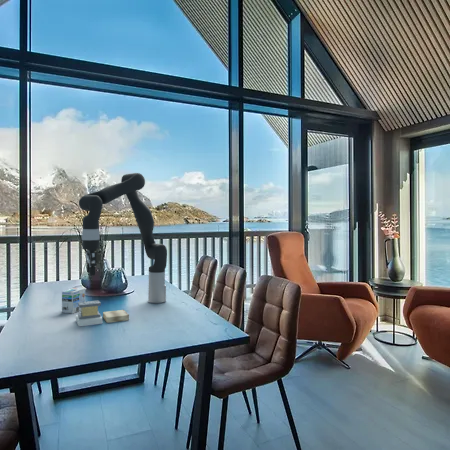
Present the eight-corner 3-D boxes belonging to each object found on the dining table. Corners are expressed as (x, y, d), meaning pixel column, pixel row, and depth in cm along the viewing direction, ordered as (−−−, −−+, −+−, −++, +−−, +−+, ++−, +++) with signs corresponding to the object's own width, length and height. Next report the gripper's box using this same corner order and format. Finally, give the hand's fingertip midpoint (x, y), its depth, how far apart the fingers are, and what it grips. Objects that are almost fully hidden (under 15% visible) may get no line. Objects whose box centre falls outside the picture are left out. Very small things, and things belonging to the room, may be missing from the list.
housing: (98, 313, 167) (98, 300, 167) (100, 316, 163) (100, 303, 162) (78, 316, 163) (78, 302, 163) (79, 319, 158) (79, 305, 158)
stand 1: (98, 317, 170) (98, 312, 170) (102, 323, 161) (102, 318, 161) (76, 320, 165) (76, 315, 165) (78, 326, 156) (78, 320, 156)
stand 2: (123, 314, 175) (123, 309, 175) (128, 320, 167) (128, 314, 167) (102, 317, 171) (102, 312, 171) (106, 322, 162) (107, 317, 162)
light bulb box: (73, 313, 176) (73, 292, 176) (61, 312, 177) (61, 291, 177) (85, 308, 186) (85, 288, 186) (74, 307, 188) (74, 287, 187)
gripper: (102, 239, 158) (102, 275, 159) (96, 237, 171) (96, 271, 171) (84, 240, 155) (84, 277, 155) (80, 238, 167) (80, 272, 168)
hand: (90, 273), depth 163 cm, fingers open, 8 cm apart
